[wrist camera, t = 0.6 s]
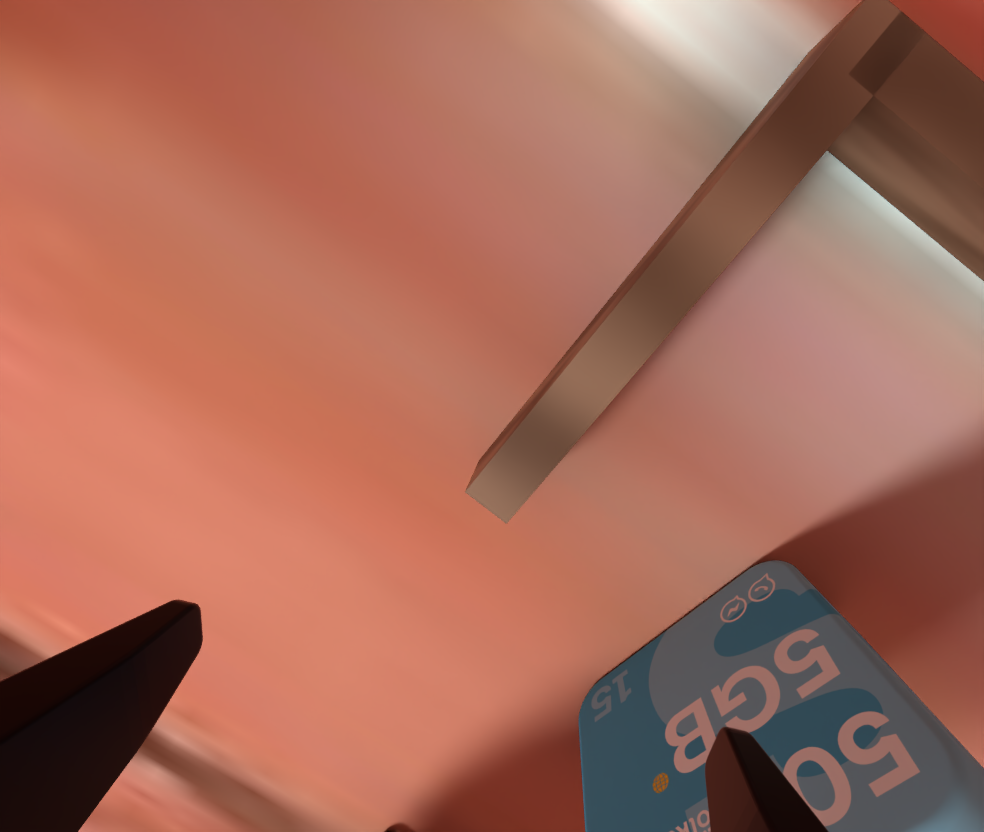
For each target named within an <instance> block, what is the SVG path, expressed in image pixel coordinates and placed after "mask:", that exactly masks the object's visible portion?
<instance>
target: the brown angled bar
mask: <svg viewBox="0 0 984 832" xmlns="http://www.w3.org/2000/svg"><path fill="white" fill-rule="evenodd" d="M826 150H827V151H829V152H830V153H831V154H832V155H833V156H835V157H836V158H837V159H838V160H839V161H841V162H842V163H843V164H844V165H845V166H847V167H848V168H849V169H850V170H851V171H853V172H854V173H855V174H856V175H857V176H858V177H860V178H861V179H862V180H863V181H864V182H866V183H867V184H868V185H869V186H870V187H872V188H873V189H874V190H875V191H876V192H878V193H879V194H880V195H881V196H882V197H884V198H885V199H886V200H887V201H888V202H890V203H891V204H892V205H893V206H894V207H896V208H897V209H898V210H899V211H900V212H902V213H903V214H904V215H905V216H906V217H908V218H909V219H910V220H911V221H912V222H914V223H915V224H916V225H917V226H918V227H920V228H921V229H922V230H923V231H924V232H926V233H927V234H928V235H929V236H930V237H932V238H933V239H934V240H935V241H936V242H937V243H939V244H940V245H941V246H942V247H943V248H945V249H946V250H947V251H948V252H949V253H951V254H952V255H953V256H954V257H955V258H957V259H958V260H959V261H960V262H961V263H963V264H964V265H965V266H966V267H967V268H969V269H970V270H971V271H972V272H973V273H975V274H976V275H977V276H978V277H979V278H981V279H982V280H983V281H984V82H983V81H982V80H981V79H980V78H978V77H977V76H976V75H975V74H974V73H973V72H971V71H970V70H969V69H968V68H967V67H966V66H964V65H963V64H962V63H961V62H960V61H959V60H957V59H956V58H955V57H954V56H953V55H952V54H951V53H949V52H948V51H947V50H946V49H945V48H944V47H942V46H941V45H940V44H939V43H938V42H937V41H935V40H934V39H933V38H932V37H931V36H930V35H928V34H927V33H926V32H925V31H924V30H923V29H921V28H920V27H919V26H918V25H917V24H916V23H914V22H913V21H912V20H911V19H910V18H909V17H907V16H906V15H905V14H904V13H903V12H902V11H900V10H899V9H898V8H897V7H896V6H895V5H893V4H892V3H891V2H890V1H889V0H862V1H861V2H860V3H859V4H858V5H857V6H856V7H855V8H854V9H853V10H852V11H851V12H850V13H849V14H848V15H847V16H846V17H845V18H844V19H843V20H842V21H841V22H840V23H839V24H838V25H837V26H836V27H834V28H833V29H832V30H831V31H830V32H829V33H828V34H827V35H826V36H825V37H824V38H823V39H822V40H821V41H820V42H819V43H818V44H817V45H816V46H815V47H814V48H813V49H812V50H811V51H810V52H809V53H808V54H807V55H806V56H805V58H804V59H803V60H802V61H801V63H800V64H799V65H798V66H797V68H796V69H795V70H794V71H793V73H792V74H791V75H790V76H789V77H788V79H787V80H786V81H785V82H784V84H783V85H782V86H781V87H780V89H779V90H778V91H777V92H776V94H775V95H774V96H773V97H772V99H771V100H770V101H769V102H768V104H767V105H766V106H765V107H764V108H763V110H762V111H761V112H760V113H759V115H758V116H757V117H756V118H755V120H754V121H753V122H752V123H751V125H750V126H749V127H748V128H747V130H746V131H745V132H744V133H743V134H742V136H741V137H740V138H739V139H738V141H737V142H736V143H735V144H734V146H733V147H732V148H731V149H730V151H729V152H728V153H727V154H726V156H725V157H724V158H723V159H722V160H721V162H720V163H719V164H718V165H717V167H716V168H715V169H714V170H713V172H712V173H711V174H710V175H709V177H708V178H707V179H706V180H705V182H704V183H703V184H702V185H701V186H700V188H699V189H698V190H697V191H696V193H695V194H694V195H693V196H692V198H691V199H690V200H689V201H688V203H687V204H686V205H685V206H684V208H683V209H682V210H681V211H680V212H679V214H678V215H677V216H676V217H675V219H674V220H673V221H672V222H671V224H670V225H669V226H668V227H667V229H666V230H665V231H664V232H663V234H662V235H661V236H660V237H659V238H658V240H657V241H656V242H655V243H654V245H653V246H652V247H651V248H650V250H649V251H648V252H647V253H646V255H645V256H644V257H643V258H642V260H641V261H640V262H639V263H638V264H637V266H636V267H635V268H634V269H633V271H632V272H631V273H630V274H629V276H628V277H627V278H626V279H625V281H624V282H623V283H622V284H621V286H620V287H619V288H618V289H617V291H616V292H615V293H614V294H613V295H612V297H611V298H610V299H609V300H608V302H607V303H606V304H605V305H604V307H603V308H602V309H601V310H600V312H599V313H598V314H597V315H596V317H595V318H594V319H593V320H592V321H591V323H590V324H589V325H588V326H587V328H586V329H585V330H584V331H583V333H582V334H581V335H580V336H579V338H578V339H577V340H576V341H575V343H574V344H573V345H572V346H571V347H570V349H569V350H568V351H567V352H566V354H565V355H564V356H563V357H562V359H561V360H560V361H559V362H558V364H557V365H556V366H555V367H554V369H553V370H552V371H551V372H550V373H549V375H548V376H547V377H546V378H545V380H544V381H543V382H542V383H541V385H540V386H539V387H538V388H537V390H536V391H535V392H534V393H533V395H532V396H531V397H530V398H529V399H528V401H527V402H526V403H525V404H524V406H523V407H522V408H521V409H520V411H519V412H518V413H517V414H516V416H515V417H514V418H513V419H512V421H511V422H510V423H509V424H508V425H507V427H506V428H505V429H504V430H503V432H502V433H501V434H500V435H499V437H498V438H497V439H496V440H495V442H494V443H493V444H492V445H491V447H490V448H489V449H488V450H487V451H486V453H485V454H484V455H483V456H482V458H481V459H480V460H479V462H478V464H477V466H476V469H475V471H474V473H473V475H472V477H471V480H470V482H469V484H468V486H467V488H466V491H465V492H466V493H467V494H468V495H470V496H471V497H472V498H473V499H475V500H476V501H477V502H479V503H480V504H481V505H483V506H484V507H485V508H487V509H488V510H489V511H490V512H492V513H493V514H494V515H496V516H497V517H498V518H500V519H501V520H502V521H503V522H505V523H506V524H507V523H508V522H509V520H510V519H511V518H512V517H513V516H514V515H515V513H516V512H517V511H518V510H519V509H520V508H521V506H522V505H523V504H524V503H525V502H526V501H527V499H528V498H529V497H530V496H531V495H532V494H533V492H534V491H535V490H536V489H537V488H538V487H539V485H540V484H541V483H542V482H543V481H544V480H545V478H546V477H547V476H548V475H549V474H550V473H551V471H552V470H553V469H554V468H555V467H556V466H557V464H558V463H559V462H560V461H561V460H562V459H563V457H564V456H565V455H566V454H567V453H568V452H569V450H570V449H571V448H572V447H573V446H574V445H575V443H576V442H577V441H578V440H579V439H580V438H581V436H582V435H583V434H584V433H585V432H586V431H587V429H588V428H589V427H590V426H591V425H592V424H593V422H594V421H595V420H596V419H597V418H598V417H599V415H600V414H601V413H602V412H603V411H604V410H605V408H606V407H607V406H608V405H609V404H610V403H611V401H612V400H613V399H614V398H615V397H616V396H617V394H618V393H619V392H620V391H621V390H622V389H623V387H624V386H625V385H626V384H627V383H628V382H629V380H630V379H631V378H632V377H633V376H634V375H635V373H636V372H637V371H638V370H639V369H640V368H641V366H642V365H643V364H644V363H645V362H646V361H647V359H648V358H649V357H650V356H651V355H652V354H653V352H654V351H655V350H656V349H657V348H658V347H659V345H660V344H661V343H662V342H663V341H664V340H665V338H666V337H667V336H668V335H669V334H670V333H671V331H672V330H673V329H674V328H675V327H676V326H677V324H678V323H679V322H680V321H681V320H682V318H683V317H684V316H685V315H686V314H687V313H688V311H689V310H690V309H691V308H692V307H693V306H694V304H695V303H696V302H697V301H698V300H699V299H700V297H701V296H702V295H703V294H704V293H705V292H706V290H707V289H708V288H709V287H710V286H711V285H712V283H713V282H714V281H715V280H716V279H717V278H718V276H719V275H720V274H721V273H722V272H723V271H724V269H725V268H726V267H727V266H728V265H729V264H730V262H731V261H732V260H733V259H734V258H735V257H736V255H737V254H738V253H739V252H740V251H741V250H742V248H743V247H744V246H745V245H746V244H747V243H748V241H749V240H750V239H751V238H752V237H753V236H754V234H755V233H756V232H757V231H758V230H759V229H760V227H761V226H762V225H763V224H764V223H765V222H766V220H767V219H768V218H769V217H770V216H771V215H772V213H773V212H774V211H775V210H776V209H777V208H778V206H779V205H780V204H781V203H782V202H783V201H784V199H785V198H786V197H787V196H788V195H789V194H790V192H791V191H792V190H793V189H794V188H795V187H796V185H797V184H798V183H799V182H800V181H801V180H802V178H803V177H804V176H805V175H806V174H807V173H808V171H809V170H810V169H811V168H812V167H813V166H814V164H815V163H816V162H817V161H818V160H819V159H820V157H821V156H822V155H823V154H824V153H825V152H826Z"/></svg>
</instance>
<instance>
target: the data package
mask: <svg viewBox="0 0 984 832" xmlns="http://www.w3.org/2000/svg"><path fill="white" fill-rule="evenodd" d="M722 727H731V728H735V729H739V730H744V731H747V732H748V733H750V734H751V735H752V736H753V737H754V738H755V739H756V741H757V742H758V743H759V744H760V746H761V747H762V748H763V749H764V751H765V752H766V753H767V755H768V756H769V757H770V758H771V760H772V761H773V762H774V763H775V765H776V766H777V767H778V768H779V770H780V771H781V772H782V773H783V775H784V776H785V777H786V778H787V780H788V781H789V782H790V783H791V785H792V786H793V787H794V789H795V790H796V791H797V792H798V794H799V795H800V796H801V797H802V799H803V800H804V801H805V802H806V804H807V805H808V806H809V807H810V809H811V810H812V811H813V812H814V814H815V815H816V816H817V817H818V819H819V820H820V821H821V822H822V824H823V825H824V826H825V828H826V829H827V830H828V831H829V832H984V768H983V767H982V766H981V765H980V764H979V763H978V762H977V761H976V759H975V758H974V757H973V756H972V755H971V754H970V753H969V752H968V751H967V750H966V749H965V748H964V746H963V745H962V744H961V743H960V742H959V741H958V740H957V739H956V738H955V737H954V736H953V735H952V733H951V732H950V731H949V730H948V729H947V728H946V727H945V726H944V725H943V724H942V723H941V722H940V720H939V719H938V718H937V717H936V716H935V715H934V714H933V713H932V712H931V711H930V710H929V709H928V707H927V706H926V705H925V704H924V703H923V702H922V701H921V700H920V699H919V698H918V697H917V696H916V694H915V693H914V692H913V691H912V690H911V689H910V688H909V687H908V686H907V685H906V684H905V682H904V681H903V680H902V679H901V678H900V677H899V676H898V675H897V674H896V673H895V672H894V671H893V669H892V668H891V667H890V666H889V665H888V664H887V663H886V662H885V661H884V660H883V659H882V658H881V656H880V655H879V654H878V653H877V652H876V651H875V650H874V649H873V648H872V647H871V646H870V645H869V643H868V642H867V641H866V640H865V639H864V638H863V637H862V636H861V635H860V634H859V633H858V632H857V631H856V630H855V629H854V627H853V626H852V625H851V624H850V623H849V622H848V621H847V620H846V619H845V618H844V617H843V616H842V615H841V614H840V613H839V612H838V611H837V610H836V609H835V608H834V607H833V606H832V605H831V604H830V602H829V601H828V600H827V599H826V598H825V597H824V596H823V595H822V594H821V593H820V592H819V591H818V590H817V589H816V588H815V587H814V586H813V585H812V584H811V583H810V582H809V581H808V580H807V579H806V577H805V576H804V575H803V574H802V573H801V572H800V571H799V570H798V569H797V568H796V567H795V566H793V565H792V564H790V563H787V562H784V561H778V560H773V561H766V562H763V563H760V564H757V565H755V566H753V567H751V568H750V569H748V570H747V571H745V572H744V573H743V574H741V575H740V576H739V577H737V578H736V579H735V580H733V581H732V582H731V583H729V584H728V585H727V586H725V587H724V588H723V589H721V590H720V591H719V592H717V593H716V594H715V595H713V596H712V597H711V598H709V599H708V600H707V601H705V602H704V603H703V604H701V605H700V606H698V607H697V608H696V609H694V610H693V611H692V612H690V613H689V614H688V615H686V616H685V617H684V618H682V619H681V620H680V621H678V622H677V623H676V624H674V625H673V626H672V627H670V628H669V629H668V630H666V631H665V632H664V633H662V634H661V635H660V636H658V637H657V638H656V639H654V640H653V641H652V642H650V643H649V644H648V645H646V646H645V647H643V648H642V649H641V650H639V651H638V652H637V653H635V654H634V655H633V656H631V657H630V658H629V659H627V660H626V661H625V662H623V663H622V664H621V665H619V666H618V667H617V668H615V669H614V670H613V671H611V672H610V673H609V674H607V675H606V676H605V677H603V678H602V679H601V680H599V681H598V682H597V683H596V684H595V685H594V686H593V687H592V688H591V690H590V691H589V693H588V694H587V696H586V697H585V699H584V701H583V703H582V706H581V709H580V713H579V737H580V753H581V769H582V785H583V801H584V817H585V832H711V829H710V819H709V809H708V800H707V790H706V780H705V764H706V760H707V757H708V755H709V752H710V750H711V748H712V746H713V743H714V741H715V739H716V737H717V734H718V732H719V730H720V729H721V728H722Z"/></svg>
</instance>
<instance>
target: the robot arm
mask: <svg viewBox="0 0 984 832" xmlns="http://www.w3.org/2000/svg"><path fill="white" fill-rule="evenodd" d="M202 641H203V635H202V622H201V610H200V607H199V606H198V605H197V604H196V603H191V602H187V601H183V600H173V601H170V602H168V603H166V604H163V605H161V606H159V607H157V608H155V609H153V610H151V611H149V612H146V613H144V614H142V615H140V616H138V617H136V618H134V619H131V620H129V621H127V622H125V623H123V624H121V625H119V626H117V627H114V628H112V629H110V630H108V631H106V632H104V633H102V634H100V635H97V636H95V637H93V638H91V639H89V640H87V641H85V642H82V643H80V644H78V645H76V646H74V647H72V648H70V649H68V650H65V651H63V652H61V653H59V654H57V655H55V656H53V657H50V658H48V659H46V660H44V661H42V662H40V663H38V664H36V665H33V666H31V667H29V668H27V669H25V670H23V671H21V672H19V673H16V674H14V675H12V676H10V677H8V678H6V679H4V680H1V681H0V832H78V831H79V829H80V828H81V827H82V825H83V824H84V823H85V821H86V820H87V819H88V817H89V816H90V814H91V813H92V812H93V810H94V809H95V808H96V806H97V805H98V804H99V802H100V801H101V800H102V798H103V797H104V796H105V794H106V793H107V792H108V790H109V789H110V787H111V786H112V785H113V783H114V782H115V781H116V779H117V778H118V777H119V775H120V774H121V773H122V771H123V770H124V769H125V767H126V766H127V764H128V763H129V762H130V760H131V759H132V758H133V756H134V755H135V754H136V752H137V751H138V749H139V748H140V747H141V745H142V744H143V742H144V741H145V739H146V738H147V736H148V735H149V733H150V732H151V730H152V728H153V727H154V725H155V724H156V722H157V720H158V719H159V717H160V716H161V714H162V712H163V711H164V709H165V707H166V706H167V704H168V702H169V701H170V699H171V698H172V696H173V694H174V693H175V691H176V689H177V688H178V686H179V684H180V683H181V681H182V680H183V678H184V676H185V675H186V673H187V671H188V670H189V668H190V666H191V665H192V663H193V661H194V660H195V658H196V657H197V655H198V653H199V651H200V649H201V646H202ZM705 780H706V790H707V800H708V809H709V819H710V829H711V832H829V831H828V830H827V829H826V828H825V826H824V825H823V824H822V822H821V821H820V820H819V819H818V817H817V816H816V815H815V814H814V812H813V811H812V810H811V809H810V807H809V806H808V805H807V804H806V802H805V801H804V800H803V799H802V797H801V796H800V795H799V794H798V792H797V791H796V790H795V789H794V787H793V786H792V785H791V783H790V782H789V781H788V780H787V778H786V777H785V776H784V775H783V773H782V772H781V771H780V770H779V768H778V767H777V766H776V765H775V763H774V762H773V761H772V760H771V758H770V757H769V756H768V755H767V753H766V752H765V751H764V749H763V748H762V747H761V746H760V744H759V743H758V742H757V741H756V739H755V738H754V737H753V736H752V735H751V734H750V733H748V732H747V731H744V730H739V729H735V728H731V727H722V728H721V729H720V730H719V732H718V734H717V737H716V739H715V741H714V743H713V746H712V748H711V750H710V752H709V755H708V757H707V760H706V764H705Z"/></svg>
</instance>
